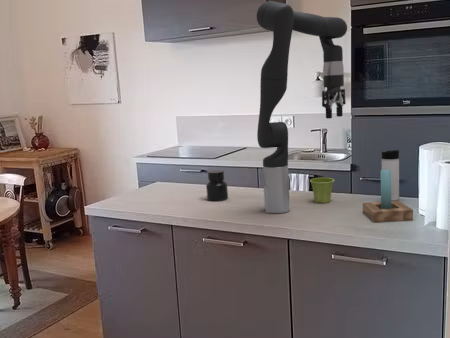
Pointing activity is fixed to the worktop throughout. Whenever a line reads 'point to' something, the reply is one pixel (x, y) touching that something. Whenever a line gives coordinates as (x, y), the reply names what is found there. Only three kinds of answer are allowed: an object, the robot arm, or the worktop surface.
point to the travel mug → (392, 171)
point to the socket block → (387, 212)
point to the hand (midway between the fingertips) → (334, 117)
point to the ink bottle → (216, 186)
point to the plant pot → (322, 189)
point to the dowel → (386, 189)
